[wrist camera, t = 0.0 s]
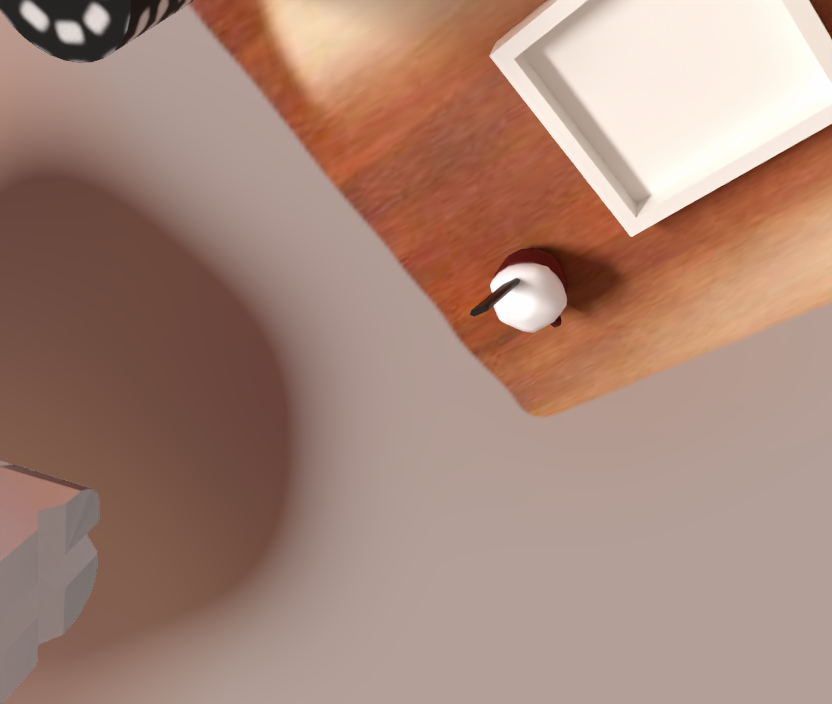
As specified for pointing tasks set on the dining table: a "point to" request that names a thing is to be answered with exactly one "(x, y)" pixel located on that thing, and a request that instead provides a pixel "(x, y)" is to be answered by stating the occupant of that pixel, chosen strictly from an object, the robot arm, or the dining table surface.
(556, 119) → the dish
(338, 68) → the dining table surface
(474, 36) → the dining table surface
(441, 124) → the dining table surface
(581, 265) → the dining table surface
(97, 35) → the spotted tube
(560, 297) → the cocoa
